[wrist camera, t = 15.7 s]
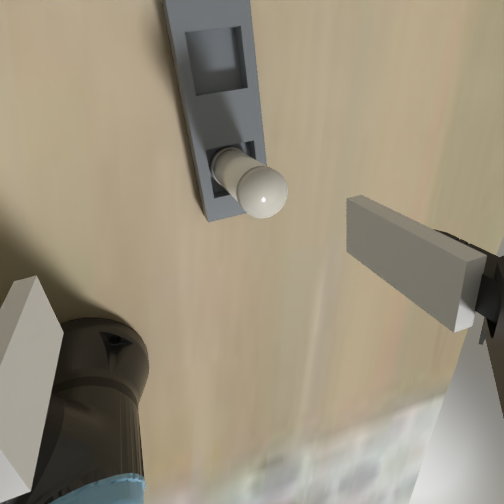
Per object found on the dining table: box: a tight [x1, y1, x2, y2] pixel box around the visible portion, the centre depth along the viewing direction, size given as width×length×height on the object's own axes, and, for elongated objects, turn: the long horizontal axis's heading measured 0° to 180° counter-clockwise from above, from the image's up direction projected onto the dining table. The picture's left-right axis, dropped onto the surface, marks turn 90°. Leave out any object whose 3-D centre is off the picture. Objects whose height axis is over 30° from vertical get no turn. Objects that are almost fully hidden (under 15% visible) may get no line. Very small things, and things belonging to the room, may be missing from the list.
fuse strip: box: [162, 0, 267, 222], centre depth 40 cm, size 8×22×2 cm, turn 6°
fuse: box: [210, 146, 288, 218], centre depth 38 cm, size 5×5×12 cm
